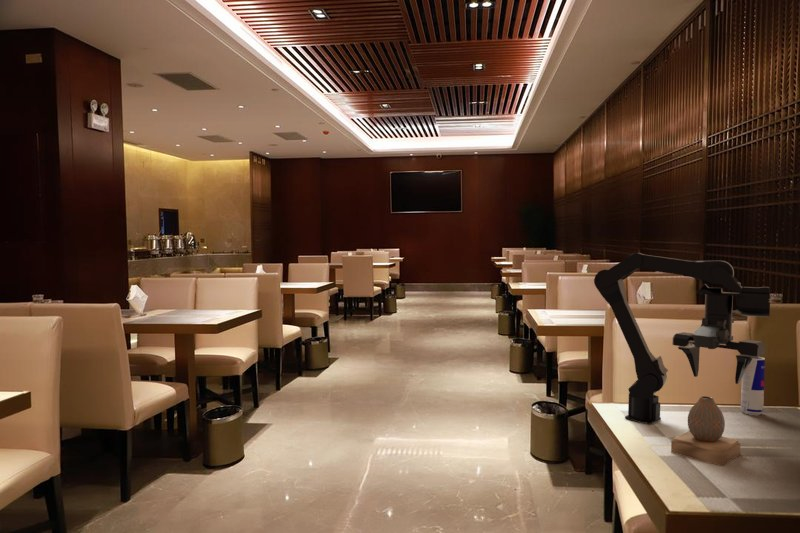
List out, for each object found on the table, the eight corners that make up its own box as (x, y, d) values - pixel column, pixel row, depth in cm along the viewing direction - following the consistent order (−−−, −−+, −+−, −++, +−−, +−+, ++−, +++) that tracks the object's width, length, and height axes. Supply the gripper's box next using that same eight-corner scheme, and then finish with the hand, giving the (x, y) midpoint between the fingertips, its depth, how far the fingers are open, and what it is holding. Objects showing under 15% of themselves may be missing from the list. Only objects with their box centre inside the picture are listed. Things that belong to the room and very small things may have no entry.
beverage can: (766, 416, 153) (768, 358, 152) (744, 415, 154) (746, 357, 153) (758, 411, 158) (760, 355, 157) (737, 410, 159) (739, 354, 158)
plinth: (671, 452, 125) (671, 438, 125) (690, 442, 131) (690, 428, 131) (722, 465, 117) (722, 450, 117) (740, 454, 124) (740, 440, 124)
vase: (680, 434, 127) (681, 393, 127) (711, 433, 128) (712, 393, 128) (699, 444, 121) (700, 401, 120) (731, 444, 121) (733, 401, 121)
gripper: (663, 312, 141) (660, 377, 142) (749, 320, 127) (746, 393, 128) (683, 309, 148) (681, 371, 149) (767, 317, 134) (764, 385, 135)
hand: (716, 380), depth 140 cm, fingers open, 9 cm apart
